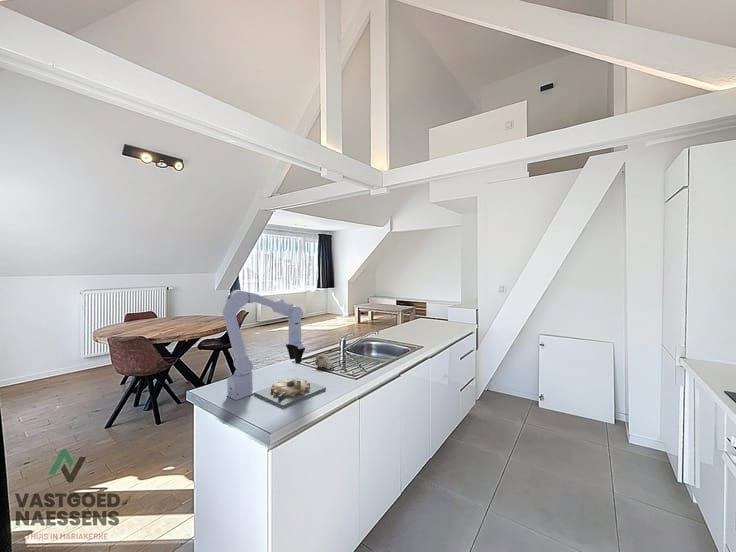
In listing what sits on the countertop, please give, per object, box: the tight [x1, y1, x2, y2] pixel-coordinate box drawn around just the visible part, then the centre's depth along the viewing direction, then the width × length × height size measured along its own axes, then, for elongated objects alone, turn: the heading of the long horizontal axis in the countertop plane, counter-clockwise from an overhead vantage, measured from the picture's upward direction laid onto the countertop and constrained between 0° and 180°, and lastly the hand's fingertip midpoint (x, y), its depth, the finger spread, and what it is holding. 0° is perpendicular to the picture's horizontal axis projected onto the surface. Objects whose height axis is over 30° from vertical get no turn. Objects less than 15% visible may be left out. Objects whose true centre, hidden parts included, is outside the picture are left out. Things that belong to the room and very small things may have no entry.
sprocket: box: [271, 378, 311, 397], centre depth 131 cm, size 16×16×5 cm
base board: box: [253, 377, 327, 409], centre depth 131 cm, size 22×20×3 cm
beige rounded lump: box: [314, 353, 336, 370], centre depth 165 cm, size 8×10×10 cm
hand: (295, 361), depth 143 cm, fingers open, 7 cm apart
